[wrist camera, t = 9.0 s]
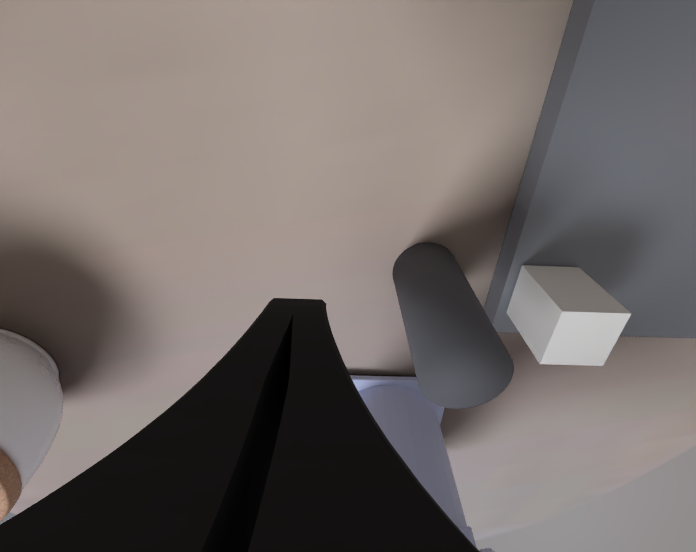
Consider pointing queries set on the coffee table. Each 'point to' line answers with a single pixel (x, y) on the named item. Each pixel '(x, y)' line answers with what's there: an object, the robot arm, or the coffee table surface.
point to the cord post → (448, 330)
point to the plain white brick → (565, 315)
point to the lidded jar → (25, 412)
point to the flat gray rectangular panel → (615, 167)
